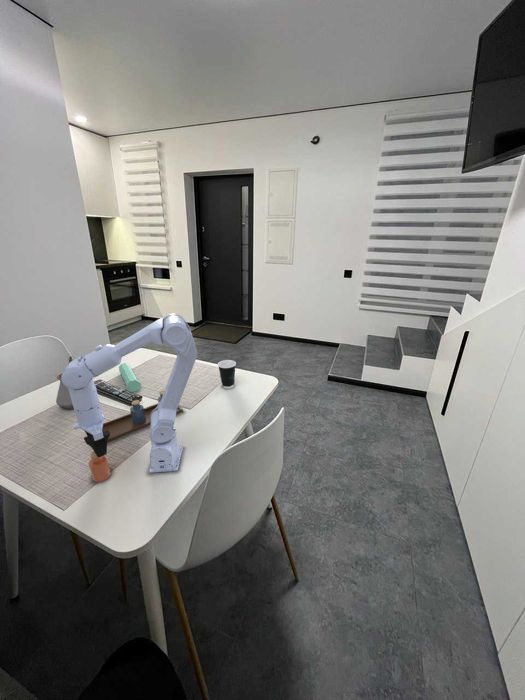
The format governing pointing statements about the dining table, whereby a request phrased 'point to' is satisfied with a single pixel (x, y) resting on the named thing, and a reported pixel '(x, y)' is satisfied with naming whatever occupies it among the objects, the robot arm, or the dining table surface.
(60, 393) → the coffee pot
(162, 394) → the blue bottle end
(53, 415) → the dining table surface
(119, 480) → the dining table surface
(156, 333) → the robot arm
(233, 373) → the dixie cup
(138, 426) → the tray
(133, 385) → the container
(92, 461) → the terracotta bottle
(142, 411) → the blue bottle middle
